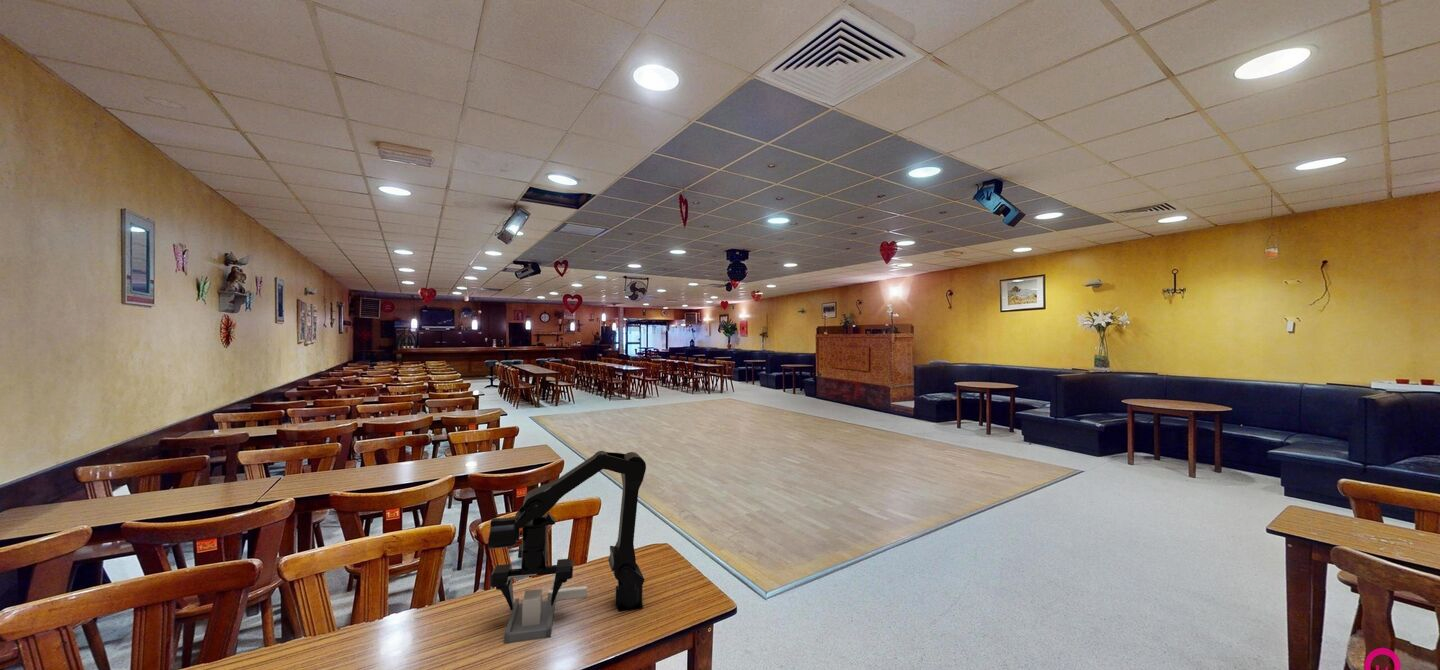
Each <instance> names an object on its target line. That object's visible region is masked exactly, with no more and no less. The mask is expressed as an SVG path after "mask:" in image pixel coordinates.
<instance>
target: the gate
mask: <svg viewBox="0 0 1440 670" xmlns="http://www.w3.org/2000/svg"><path fill="white" fill-rule="evenodd" d="M555 575H556V574H554V577H553V582H554V581H555ZM553 586H554V584H553ZM547 591H548V592H547V601H551V596H552V592H553V589H548V590H547ZM587 595H588V585H584V586H575V587H563V588H560V589H559V591H558V593H557V595H556V601H562V600H570V599H571V600H572V599H581V598H587V597H588V596H587Z"/></svg>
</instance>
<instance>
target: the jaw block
mask: <svg viewBox="0 0 1440 670" xmlns="http://www.w3.org/2000/svg"><path fill="white" fill-rule="evenodd" d="M542 601H543V588H536V589H527V590H525V591H524V595H523V599H522V604H523V609H522V626H529V625H537V624H540V619H541V613H542Z"/></svg>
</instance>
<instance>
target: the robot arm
mask: <svg viewBox="0 0 1440 670" xmlns="http://www.w3.org/2000/svg"><path fill="white" fill-rule="evenodd" d="M602 470H605V471H611V472H614V473H618V474H620V476H621V477H620V478H621V482H622V494H621V505H620V512H619V513H620V515H619V524H618V533H617V541H616V542H615V545H610V546H609V557H608V559H607V560H608V564H609V567H610V570H611V572H612V573H613V575H614V578H615V579H616V581H617V585H615V591H614V593H615V595H614V596H615V597H614V604H615V607H616V608H617V612H626V611H634V610H643V609H644V605H643V585H644V583H645V577H644V575H643V573H642V571H641V568H640V567H639V564H638V563H637V559H636V552H635V546H634V541H635V532H636V531H635V530H636V519H637V511H638V510H637V508H638V502H639V501H638V500H639V499H638V497H639V491H640V487H641V485H642V483H643V481H644V478H645V474H646V472H647V471H646V470H647V464H646V462H645V460H644V459H643V458H642V457H641V455H640V454H638V453H636V452H634V451H628V452H626V453H621V452H610V451H609V452H608V451H605V450H598V451H597V452H595V453H594V455H592V456H590V457H588V458H587V459H586V460H584V461H583V462H582V463H580V464H578V465H576V466H575V467H574V468H572V469H570V470H569V471H567V472H565V474H563V475H561V476H560V477H558V478H557V479H555V480H553V481H551V482H548V483H545V484H542V485H539V486H538V487H535V488H532V489H531V490H530V491H528V492H527V493H526V494H525V496H524V498H523V504H522V505H521V506H520V508H518V510H517V511H516V512H515V515H514V516H515V517H514V516H513V517H512V516H511V517H503V518H501V517H500V518H499V517H494V518H491V519H490V526H489V527H490V528H489V534H488V543H487V545H488V547H487V548H488V550H494V549H500V548H504V549H505V548H511V547H514V546H515V545H517V542H520V533H521V532H520V531H521V530H520V529H522V534H521V535H522V536H521V538H522V539H521V540H522V541H521V544H519V545H518V551H517V553H518V555H517V559H521V565H520V566H521V567H520V568H519V567H518V568H513V564H512V563H506V564H497V565H496V566H494V567H493V569H492V572H491V574H490V579H489V580H490V581H489V586H490V587H491V588H495V590H497V591H498V590H499V591H500V593H502V595H503V596H504V598H505V600H506V602H507V605H508V607H509V610H510V611H512V610H513V605H514V601H515V598H514V587H513V579H514V578H515V579H516V578H523V577H524V578H525V577H533V576H546V575H553V574H554V577H555V581H554V580H553V585H554V586H553V587H552V590H553V592H552V598H551V606H553V603H554V601H555V598H556V595H557V593H558V591H559V589H561V587H562V585H563V584H565V583H567V582H568V580H571V579H573V575H574V559H573V558H560V559H557V562H556V564H551V565H547V563H548V546H547V545H548V543H547V542H548V526H553V525H555V524H556V517H554V516H553V515H552V514H551V513H550V512H549V511H551V510H552V509H553V508H554V506H555V505H556V504H557V503H558V502H559V501H560V500H561V499H562V498H563V497H564V496H565V495H566V494H568V493H569V492H571V491H573V490H574V489H576V488H577V487H579V486H580V485H581V484H583V483H585V481H588V480H589V479H590V478H591V477H594V475H597V474H598V473H599V472H600V471H602ZM555 574H556V575H555ZM555 602H556V601H555Z"/></svg>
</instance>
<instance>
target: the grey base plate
mask: <svg viewBox="0 0 1440 670" xmlns="http://www.w3.org/2000/svg"><path fill="white" fill-rule="evenodd" d="M551 598H552V596H551ZM556 601H557V600H556V598H555V601H554V603H553V606H551V601H548V600H545V601H544V600H542V613H541V619H540V624H537V625H529V626H522V609H523V603H520V598H519V597H518V598H514V605H513V610H510V614H509V618H508V622H507V625H506V627H505V631H504V634H503V644H504V645H505V644H511V643H519V642H525V641H534V640H542V639H550V638H551V635H552V629H553V624H554V623H553V621H554V616H555V615H554V614H555V607H556Z"/></svg>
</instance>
